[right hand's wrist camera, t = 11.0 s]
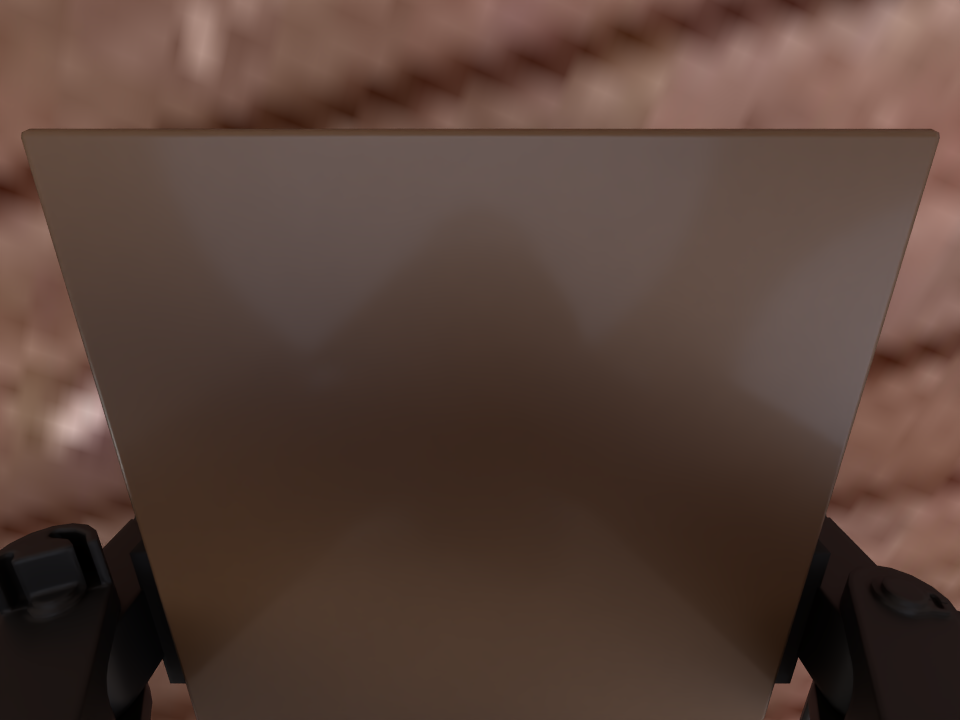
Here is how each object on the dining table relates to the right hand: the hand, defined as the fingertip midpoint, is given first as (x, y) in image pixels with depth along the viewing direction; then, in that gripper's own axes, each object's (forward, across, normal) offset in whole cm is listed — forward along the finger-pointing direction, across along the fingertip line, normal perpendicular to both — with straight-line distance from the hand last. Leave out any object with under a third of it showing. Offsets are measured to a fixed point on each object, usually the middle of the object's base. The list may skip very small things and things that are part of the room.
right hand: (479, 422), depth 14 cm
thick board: (+1, 0, -29) cm, 29 cm away
